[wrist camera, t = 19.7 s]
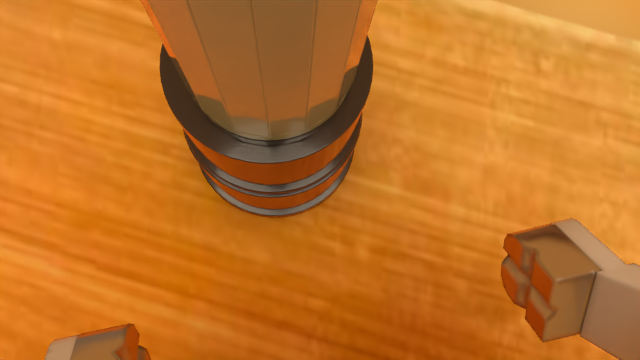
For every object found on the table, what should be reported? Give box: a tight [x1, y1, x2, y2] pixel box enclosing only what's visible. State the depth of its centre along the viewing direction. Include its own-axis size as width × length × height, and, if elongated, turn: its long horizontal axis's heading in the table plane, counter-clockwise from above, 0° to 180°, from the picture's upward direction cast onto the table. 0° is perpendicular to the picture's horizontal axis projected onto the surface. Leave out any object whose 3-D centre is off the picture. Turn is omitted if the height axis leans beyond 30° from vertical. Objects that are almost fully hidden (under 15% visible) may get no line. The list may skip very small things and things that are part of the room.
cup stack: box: [160, 35, 373, 217], centre depth 23 cm, size 9×9×10 cm
